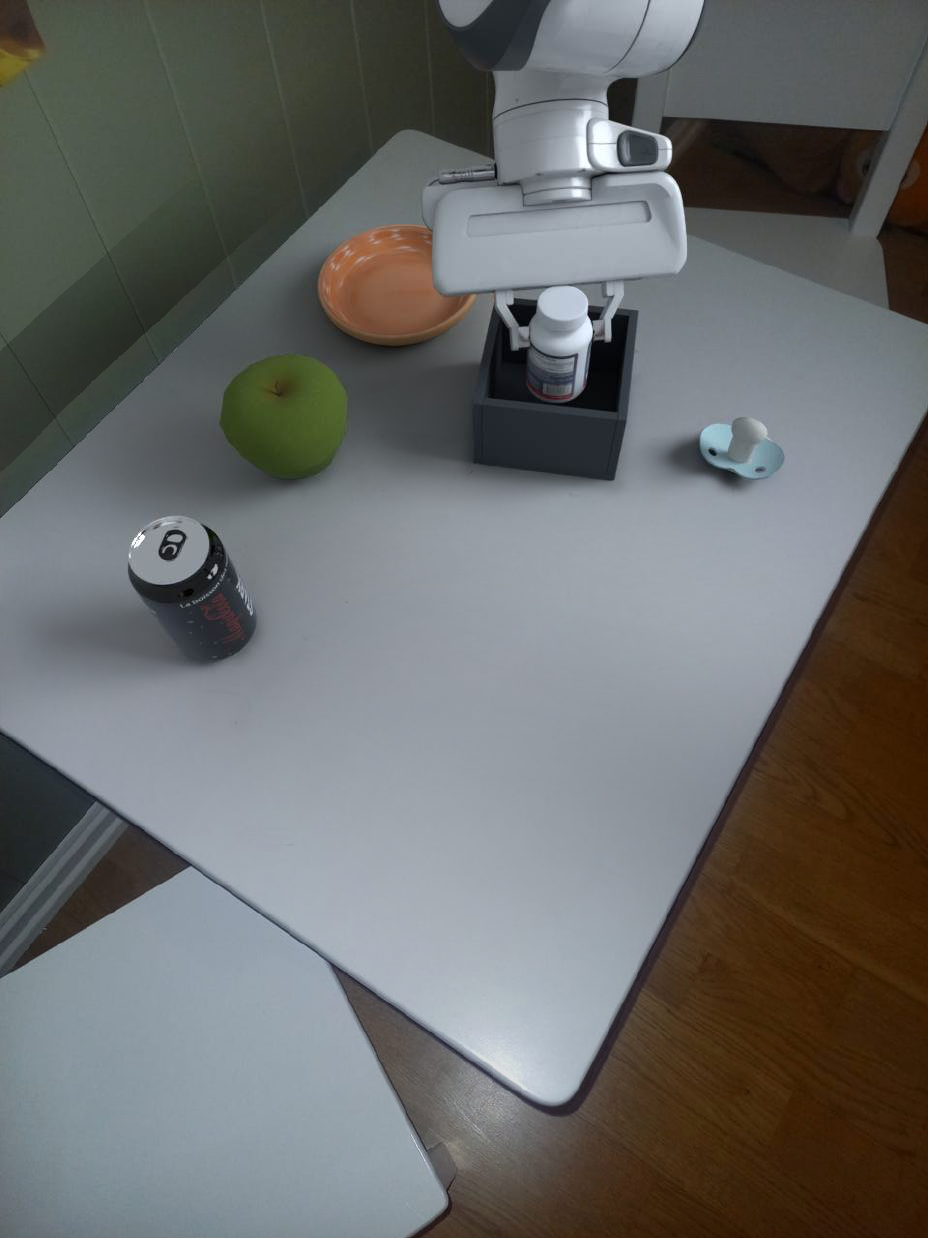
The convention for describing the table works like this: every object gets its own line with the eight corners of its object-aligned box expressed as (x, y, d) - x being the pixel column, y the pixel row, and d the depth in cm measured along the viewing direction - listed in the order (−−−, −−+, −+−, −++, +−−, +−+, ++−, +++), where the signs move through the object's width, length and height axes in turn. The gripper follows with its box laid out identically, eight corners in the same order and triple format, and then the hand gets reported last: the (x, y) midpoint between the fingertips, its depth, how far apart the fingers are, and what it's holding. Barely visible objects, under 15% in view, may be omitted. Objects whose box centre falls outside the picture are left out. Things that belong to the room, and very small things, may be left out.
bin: (626, 374, 80) (638, 309, 73) (614, 480, 75) (626, 420, 68) (494, 360, 82) (495, 295, 75) (473, 463, 76) (471, 403, 69)
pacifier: (711, 420, 78) (688, 465, 75) (729, 369, 72) (704, 415, 70) (789, 448, 76) (767, 496, 73) (813, 398, 70) (791, 447, 68)
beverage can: (271, 599, 70) (232, 516, 59) (244, 674, 67) (198, 599, 56) (193, 586, 71) (141, 501, 60) (163, 659, 68) (102, 583, 57)
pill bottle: (554, 350, 76) (561, 268, 68) (598, 381, 74) (611, 300, 66) (513, 382, 74) (515, 302, 66) (557, 415, 72) (565, 335, 64)
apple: (332, 397, 80) (313, 314, 71) (377, 476, 75) (362, 398, 67) (224, 439, 78) (190, 359, 69) (263, 523, 73) (232, 449, 65)
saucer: (336, 373, 81) (331, 349, 79) (311, 263, 89) (305, 238, 86) (497, 341, 83) (497, 317, 80) (459, 235, 90) (458, 210, 88)
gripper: (417, 161, 62) (435, 357, 66) (693, 137, 63) (694, 334, 67) (418, 179, 68) (434, 357, 72) (669, 157, 69) (671, 336, 73)
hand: (561, 346), depth 70 cm, fingers closed on pill bottle, 5 cm apart
